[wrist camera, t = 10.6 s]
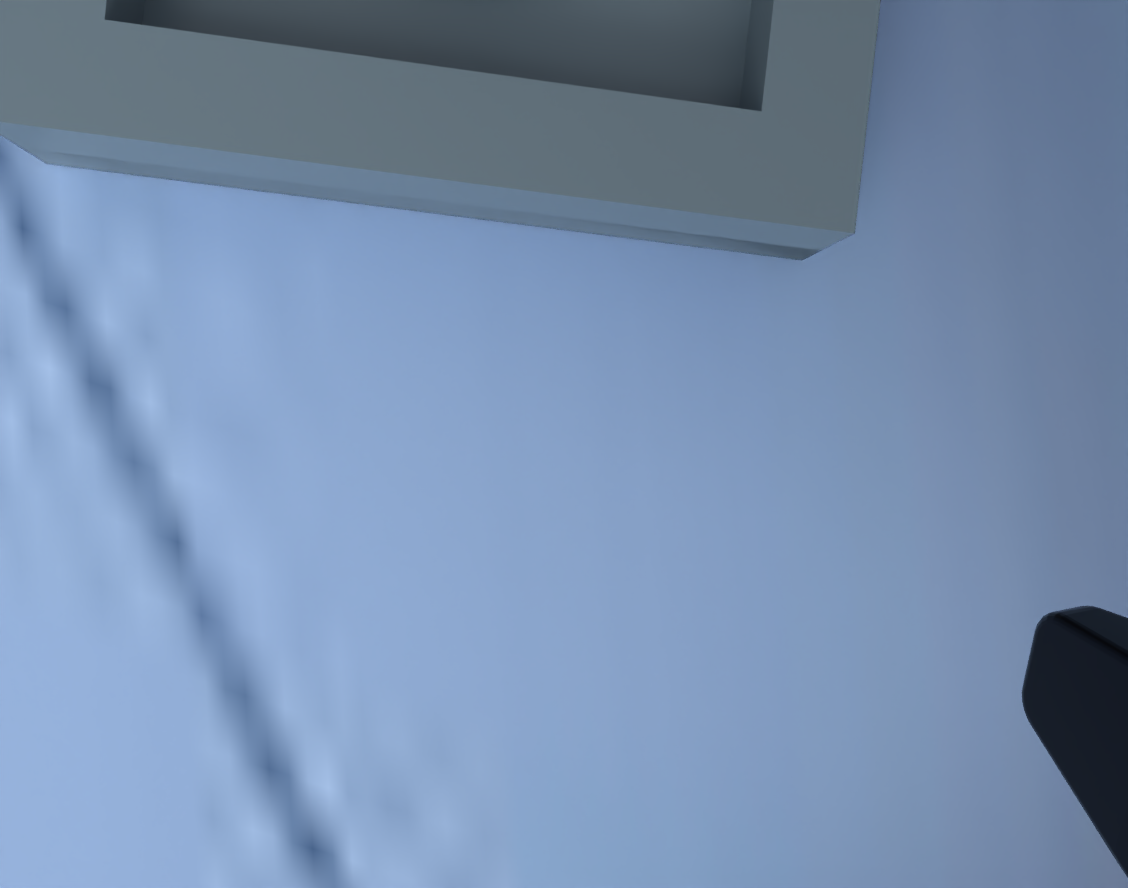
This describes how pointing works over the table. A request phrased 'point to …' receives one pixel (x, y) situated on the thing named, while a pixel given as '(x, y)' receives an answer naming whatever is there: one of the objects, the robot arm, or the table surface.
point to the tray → (469, 107)
